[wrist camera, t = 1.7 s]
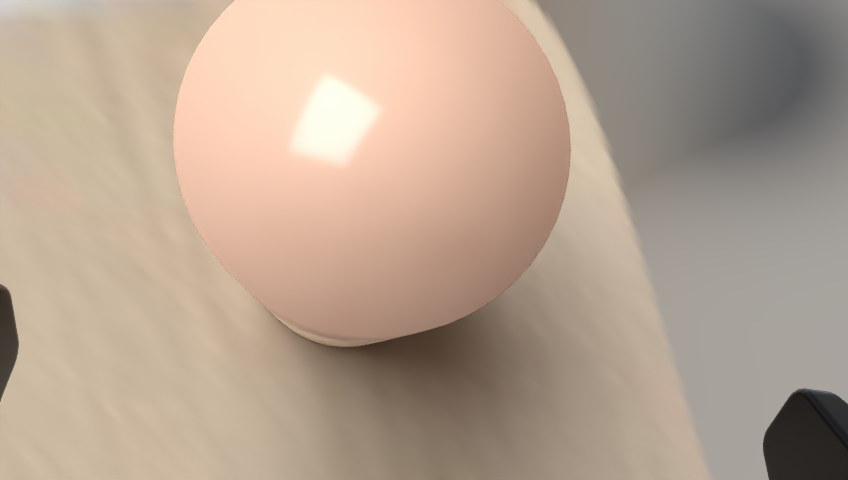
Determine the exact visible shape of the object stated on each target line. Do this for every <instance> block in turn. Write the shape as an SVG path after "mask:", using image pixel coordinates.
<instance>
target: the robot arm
mask: <svg viewBox="0 0 848 480" xmlns="http://www.w3.org/2000/svg"><path fill="white" fill-rule="evenodd" d="M18 347H19V341H18V334H17V328H16V322H15V316H14V311H13V305H12V299H11V295H10V292H9V290H8V289H7V288H6V287H5V286H3V285H1V284H0V401H1V398H2V395H3V393H4V390H5V388H6V385H7V383H8V380H9V378H10V375H11V372H12V370H13V367H14V365H15V362H16V359H17V355H18ZM763 452H764V457H765V462H766V467H767V472H768V477H769V480H848V404H847V403H846V402H845V401H844V400H842V399H841V398H840V397H839V396H837V395H836V394H833V393H831V392H827V391H819V390H812V389H798V390H797V391H795V392H793V393H792V394H791V395H790V397H789V398H788V400H787V401H786V402H785V404H784V405H783V407H782V408H781V410H780V411H779V413H778V414H777V416H776V417H775V419H774V420H773V422H772V423H771V425H770V426H769V427H768V429H767V431H766V433H765V436H764V442H763Z"/></svg>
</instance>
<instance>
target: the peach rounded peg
mask: <svg viewBox="0 0 848 480" xmlns="http://www.w3.org/2000/svg"><path fill="white" fill-rule="evenodd" d="M570 153H571V148H570V131H569V123H568V117H567V112H566V107H565V102H564V99H563V96H562V93H561V90H560V87H559V84H558V81H557V78H556V76H555V74H554V72H553V70H552V68H551V65H550V63H549V61H548V59H547V57H546V55H545V54H544V52H543V51H542V49H541V48H540V46H539V44H538V43H537V41H536V40H535V38H534V36H533V35H532V34H531V33H530V32H529V30H528V29H527V28H526V27H525V26H524V24H523V23H522V22H521V21H520V19H519V18H518V17H517V16H516V15H515V14H514V13H513V12H512V11H511V10H510V9H509V8H507V7H506V6H505V5H504V4H503V3H502V2H501V1H500V0H236V1H234V2H233V3H232V4H231V5H230V6H229V7H228V8H227V9H226V10H225V11H224V12H223V13H222V14H221V15H220V17H219V18H218V19H217V20H216V21H215V22H214V24H213V25H212V26H211V27H210V29H209V30H208V32H207V33H206V35H205V36H204V38H203V39H202V41H201V42H200V44H199V45H198V47H197V49H196V51H195V53H194V55H193V57H192V59H191V61H190V63H189V65H188V68H187V70H186V72H185V75H184V79H183V82H182V85H181V88H180V92H179V95H178V100H177V106H176V112H175V119H174V156H175V164H176V172H177V177H178V181H179V184H180V188H181V192H182V196H183V199H184V202H185V204H186V206H187V209H188V211H189V214H190V216H191V218H192V221H193V223H194V225H195V227H196V229H197V230H198V232H199V234H200V235H201V237H202V239H203V240H204V242H205V244H206V245H207V247H208V248H209V250H210V251H211V252H212V253H213V255H214V256H215V257H216V259H217V260H218V261H219V262H220V264H221V265H222V266H223V267H224V269H225V270H226V271H227V272H228V273H230V274H231V275H232V276H233V277H234V278H235V279H236V280H237V281H238V282H239V283H240V284H241V285H242V286H243V287H244V288H245V289H246V290H247V291H248V292H249V293H251V294H252V295H253V296H254V297H255V298H256V299H257V300H258V301H259V302H260V303H261V304H262V305H263V306H265V307H266V308H267V309H268V310H269V311H270V312H271V313H272V314H273V315H274V316H275V317H276V318H277V319H279V320H280V321H281V322H282V323H283V324H284V325H285V326H287V327H288V328H289V329H291V330H292V331H293V332H295V333H297V334H299V335H301V336H302V337H304V338H306V339H309V340H311V341H314V342H317V343H320V344H324V345H329V346H337V347H357V346H363V345H369V344H373V343H377V342H381V341H386V340H390V339H394V338H398V337H402V336H406V335H411V334H415V333H419V332H423V331H426V330H430V329H433V328H436V327H440V326H443V325H446V324H449V323H451V322H454V321H456V320H458V319H460V318H463V317H465V316H467V315H469V314H471V313H473V312H475V311H476V310H478V309H480V308H481V307H483V306H484V305H486V304H488V303H489V302H491V301H492V300H494V299H495V298H496V297H498V296H499V295H500V294H501V293H502V292H504V291H505V290H506V289H507V288H508V287H510V286H511V285H512V284H513V283H514V282H515V281H516V280H517V279H518V278H519V277H520V276H521V274H522V273H523V272H524V271H525V270H526V269H527V268H528V267H529V266H530V265H531V263H532V262H533V260H534V259H535V257H536V256H537V255H538V253H539V252H540V250H541V249H542V247H543V246H544V244H545V243H546V241H547V239H548V237H549V235H550V233H551V231H552V229H553V227H554V225H555V223H556V220H557V218H558V215H559V212H560V209H561V206H562V203H563V200H564V197H565V192H566V187H567V182H568V177H569V167H570Z"/></svg>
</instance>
